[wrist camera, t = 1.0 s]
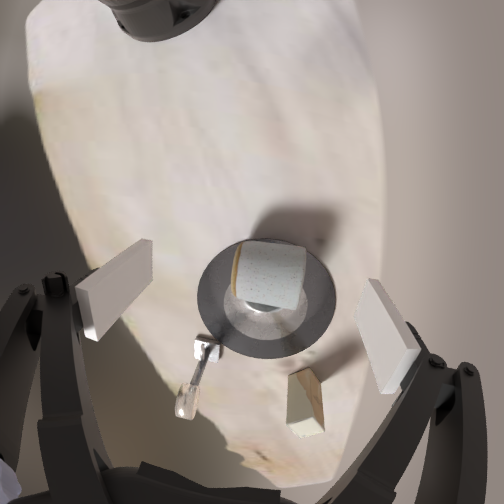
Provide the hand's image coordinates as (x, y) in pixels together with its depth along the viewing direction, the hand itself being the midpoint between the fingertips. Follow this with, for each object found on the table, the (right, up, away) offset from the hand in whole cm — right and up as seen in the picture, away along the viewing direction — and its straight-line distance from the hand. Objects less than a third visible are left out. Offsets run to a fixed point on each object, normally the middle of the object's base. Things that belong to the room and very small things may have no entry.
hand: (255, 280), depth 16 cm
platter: (+2, -6, +23) cm, 24 cm away
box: (+9, -20, +27) cm, 35 cm away
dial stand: (-7, -14, +27) cm, 31 cm away
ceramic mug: (+2, -1, +21) cm, 21 cm away
